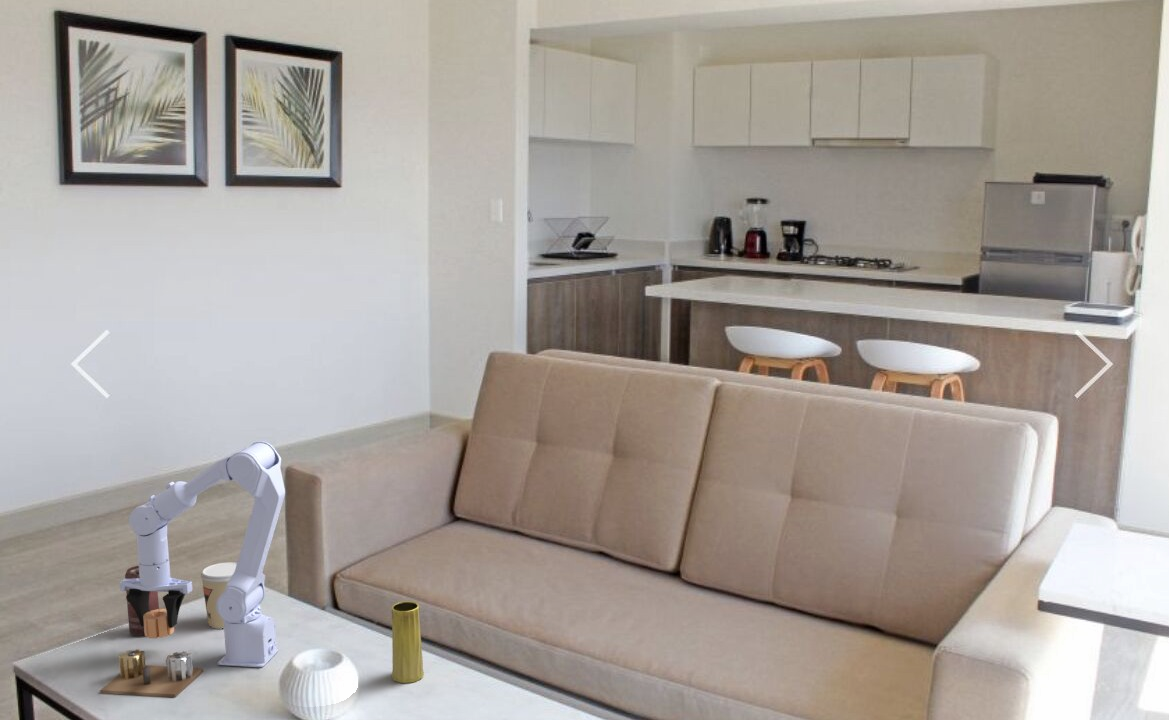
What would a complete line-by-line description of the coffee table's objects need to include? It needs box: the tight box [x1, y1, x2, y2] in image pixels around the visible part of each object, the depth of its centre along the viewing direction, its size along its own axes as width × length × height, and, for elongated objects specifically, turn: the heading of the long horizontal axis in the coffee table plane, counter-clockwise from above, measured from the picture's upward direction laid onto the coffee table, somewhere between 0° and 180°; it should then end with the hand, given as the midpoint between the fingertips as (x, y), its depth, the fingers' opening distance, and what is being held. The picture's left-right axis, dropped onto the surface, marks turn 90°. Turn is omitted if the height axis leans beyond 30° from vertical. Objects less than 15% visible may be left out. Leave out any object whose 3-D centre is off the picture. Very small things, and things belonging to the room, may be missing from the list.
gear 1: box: [118, 649, 147, 679], centre depth 208 cm, size 5×5×4 cm
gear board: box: [99, 664, 205, 698], centre depth 206 cm, size 15×11×4 cm
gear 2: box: [165, 650, 194, 682], centre depth 207 cm, size 5×5×4 cm
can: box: [124, 565, 160, 637], centre depth 229 cm, size 6×6×14 cm
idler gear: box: [143, 608, 175, 639], centre depth 218 cm, size 5×5×4 cm
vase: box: [391, 600, 425, 684], centre depth 207 cm, size 6×6×14 cm
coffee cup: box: [200, 561, 237, 630], centre depth 234 cm, size 9×9×12 cm
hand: (159, 625), depth 218 cm, fingers closed on idler gear, 5 cm apart
